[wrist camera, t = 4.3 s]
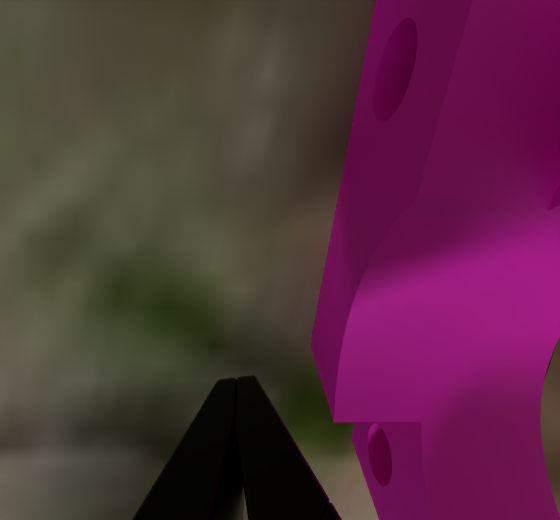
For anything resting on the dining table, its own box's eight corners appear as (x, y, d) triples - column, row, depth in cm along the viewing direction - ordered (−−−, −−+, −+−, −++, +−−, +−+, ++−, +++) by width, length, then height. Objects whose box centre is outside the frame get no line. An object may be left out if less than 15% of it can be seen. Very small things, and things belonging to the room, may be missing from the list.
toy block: (375, -13, 8) (1049, -621, 1) (595, 30, 9) (1661, -207, 2) (291, 433, 14) (340, 739, 7) (431, 432, 15) (592, 703, 8)
